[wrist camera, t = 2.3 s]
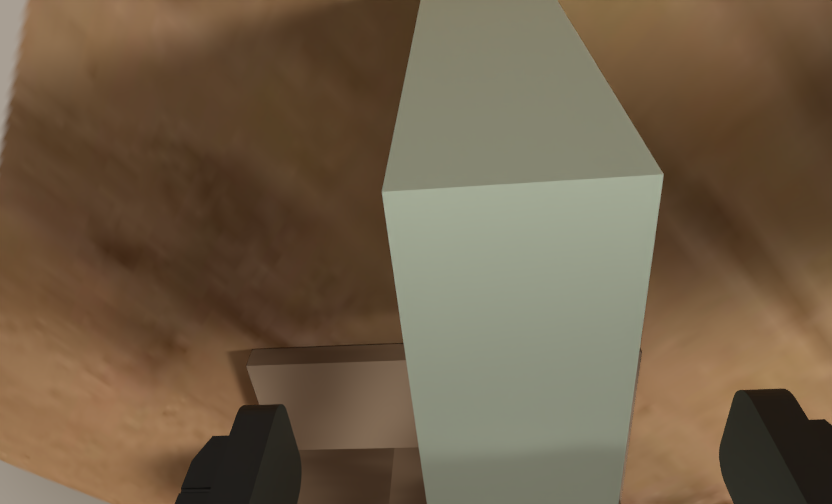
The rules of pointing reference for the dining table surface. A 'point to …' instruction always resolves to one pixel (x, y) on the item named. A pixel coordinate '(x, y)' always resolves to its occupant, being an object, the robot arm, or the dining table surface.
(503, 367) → the upright sage green panel
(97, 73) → the dining table surface
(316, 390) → the slot plate
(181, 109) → the dining table surface
